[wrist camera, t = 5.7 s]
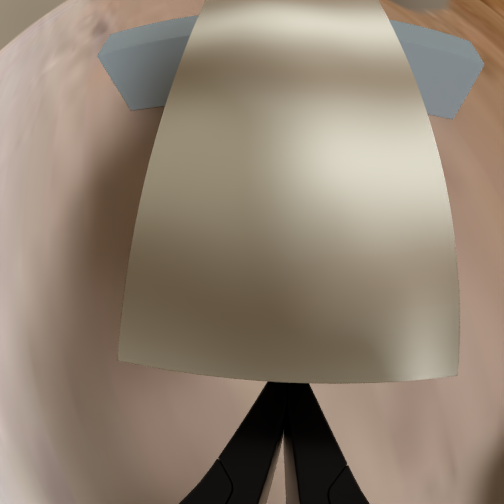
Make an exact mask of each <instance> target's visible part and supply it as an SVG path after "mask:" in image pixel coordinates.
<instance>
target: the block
mask: <svg viewBox="0 0 504 504" xmlns="http://www.w3.org/2000/svg"><path fill="white" fill-rule="evenodd" d="M459 344H460V301H459V280H458V266H457V255H456V246H455V237H454V230H453V222H452V216H451V210H450V204H449V198H448V193H447V188H446V183H445V178H444V174H443V169H442V165H441V161H440V157H439V153H438V149H437V145H436V141H435V138H434V134H433V131H432V127H431V124H430V121H429V117H428V114H427V111H426V108H425V105H424V102H423V99H422V96H421V94H420V91H419V88H418V85H417V83H416V80H415V77H414V75H413V72H412V70H411V67H410V65H409V62H408V60H407V58H406V55H405V53H404V51H403V49H402V46H401V44H400V42H399V40H398V38H397V36H396V33H395V31H394V29H393V27H392V25H391V23H390V21H389V19H388V17H387V15H386V14H385V12H384V10H383V8H382V6H381V4H380V2H379V1H378V0H205V2H204V4H203V7H202V9H201V11H200V14H199V16H198V18H197V21H196V23H195V25H194V28H193V30H192V33H191V35H190V37H189V40H188V43H187V45H186V48H185V50H184V53H183V56H182V58H181V61H180V64H179V66H178V69H177V72H176V75H175V78H174V81H173V83H172V86H171V89H170V92H169V95H168V99H167V102H166V105H165V108H164V111H163V114H162V118H161V121H160V124H159V128H158V131H157V135H156V138H155V142H154V146H153V149H152V153H151V157H150V161H149V165H148V169H147V173H146V177H145V181H144V185H143V190H142V194H141V199H140V203H139V208H138V213H137V218H136V223H135V228H134V233H133V239H132V244H131V250H130V256H129V262H128V269H127V275H126V282H125V290H124V297H123V306H122V314H121V324H120V334H119V346H118V361H123V362H127V363H132V364H137V365H143V366H148V367H154V368H159V369H165V370H171V371H178V372H184V373H191V374H199V375H207V376H215V377H224V378H233V379H244V380H256V381H271V382H289V383H328V384H342V383H380V382H398V381H412V380H423V379H433V378H442V377H450V376H458V364H459Z"/></svg>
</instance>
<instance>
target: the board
mask: <svg viewBox="0 0 504 504" xmlns="http://www.w3.org/2000/svg"><path fill="white" fill-rule="evenodd" d="M198 16H199V15H197V16H191V17H184V18H178V19H173V20H167V21H162V22H158V23H153V24H148V25H144V26H140V27H136V28H132V29H128V30H124V31H121V32H117V33H114V34H111V35H110V36H109V38H108V39H107V41H106V42H105V44H104V45H103V47H102V48H101V50H100V52H99V53H98V55H97V57H98V58H99V60H100V62H101V63H102V65H103V67H104V68H105V70H106V71H107V73H108V75H109V76H110V78H111V79H112V81H113V83H114V84H115V86H116V87H117V89H118V91H119V92H120V94H121V95H122V97H123V99H124V100H125V102H126V103H127V105H128V107H129V108H130V110H138V109H144V108H151V107H159V106H165V105H166V102H167V99H168V95H169V92H170V89H171V86H172V83H173V81H174V78H175V75H176V72H177V69H178V66H179V64H180V61H181V58H182V56H183V53H184V50H185V48H186V45H187V43H188V40H189V37H190V35H191V33H192V30H193V28H194V25H195V23H196V21H197V18H198ZM389 21H390V23H391V25H392V27H393V29H394V31H395V33H396V36H397V38H398V40H399V42H400V44H401V46H402V49H403V51H404V53H405V55H406V58H407V60H408V62H409V65H410V67H411V70H412V72H413V75H414V77H415V80H416V83H417V85H418V88H419V91H420V94H421V96H422V99H423V102H424V105H425V108H426V111H427V114H430V115H435V116H440V117H444V118H449V119H453V118H454V116H455V115H456V113H457V112H458V110H459V108H460V107H461V105H462V103H463V101H464V100H465V98H466V96H467V95H468V93H469V91H470V89H471V88H472V86H473V84H474V82H475V81H476V79H477V77H478V75H479V73H480V72H481V70H482V68H483V66H484V63H483V61H482V60H481V58H480V56H479V55H478V53H477V52H476V50H475V48H474V47H473V45H472V44H471V42H470V41H467V40H464V39H461V38H458V37H455V36H452V35H449V34H446V33H442V32H439V31H436V30H432V29H428V28H424V27H420V26H416V25H412V24H408V23H403V22H399V21H394V20H389Z"/></svg>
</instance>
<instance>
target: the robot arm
mask: <svg viewBox="0 0 504 504" xmlns="http://www.w3.org/2000/svg"><path fill="white" fill-rule="evenodd" d="M283 432H284V437H283ZM282 439H283V440H284V464H285V487H286V504H369V502H368V501H367V499H366V497H365V496H364V494H363V493H362V491H361V489H360V487H359V486H358V484H357V482H356V480H355V478H354V476H353V474H352V472H351V470H350V468H349V466H348V465H347V462H346V460H345V458H344V456H343V454H342V452H341V449H340V447H339V445H338V443H337V441H336V439H335V437H334V435H333V433H332V431H331V429H330V426H329V424H328V422H327V420H326V418H325V416H324V414H323V412H322V410H321V408H320V406H319V403H318V401H317V399H316V397H315V395H314V393H313V391H312V389H311V387H310V385H309V383H289V382H271V381H268V382H267V383H266V385H265V387H264V388H263V390H262V392H261V393H260V395H259V396H258V398H257V400H256V401H255V403H254V404H253V406H252V407H251V409H250V411H249V412H248V414H247V415H246V417H245V418H244V420H243V421H242V423H241V425H240V426H239V428H238V429H237V431H236V432H235V434H234V435H233V437H232V438H231V440H230V441H229V443H228V444H227V445H226V447H225V448H224V450H223V451H222V453H221V454H220V456H219V457H218V458H219V459H217V460H216V461H215V463H214V464H213V465H212V467H211V468H210V470H209V471H208V472H207V473H206V475H205V476H204V477H203V479H202V480H201V481H200V482H199V483H198V484H197V486H196V487H195V488H194V489H193V490H192V491H191V492H190V493H189V494H188V495H187V496H186V497H185V498H184V499H183V500H182V501H181V502H180V503H179V504H266V502H267V498H268V495H269V491H270V487H271V484H272V480H273V476H274V472H275V468H276V464H277V460H278V456H279V452H280V448H281V444H282ZM346 465H347V466H346Z"/></svg>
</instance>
